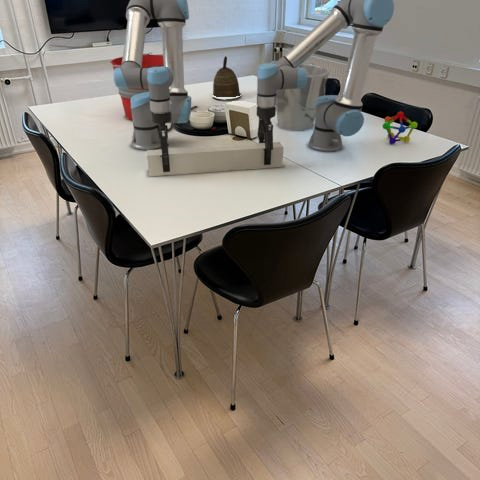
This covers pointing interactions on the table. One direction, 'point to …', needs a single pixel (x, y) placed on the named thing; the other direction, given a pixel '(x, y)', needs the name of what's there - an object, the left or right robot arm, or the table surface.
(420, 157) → the table surface
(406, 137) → the educational toy
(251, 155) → the beam
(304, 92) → the bucket
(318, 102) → the right robot arm
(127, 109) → the bucket
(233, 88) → the bell
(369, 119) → the table surface
